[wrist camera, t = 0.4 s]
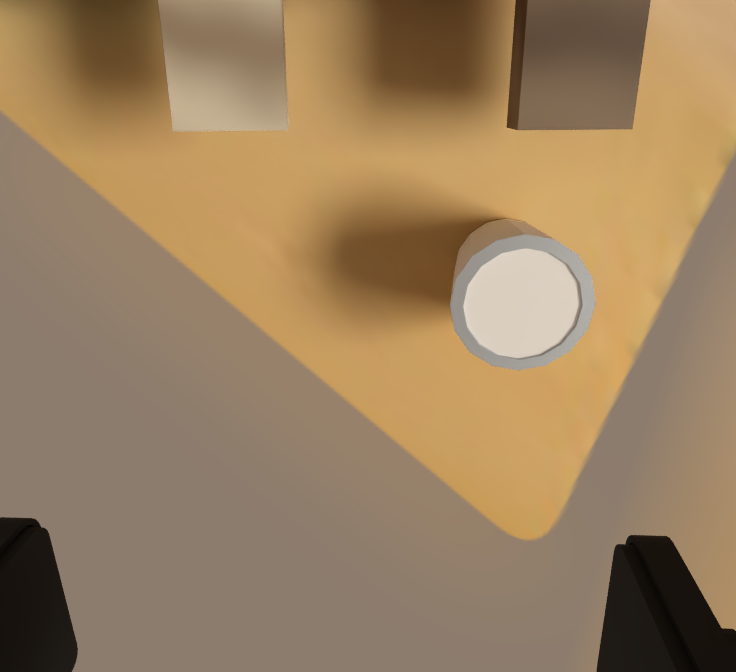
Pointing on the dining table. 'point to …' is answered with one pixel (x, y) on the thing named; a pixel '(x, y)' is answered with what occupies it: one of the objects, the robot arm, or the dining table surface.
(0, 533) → the robot arm
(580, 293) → the white cup
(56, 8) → the dining table surface
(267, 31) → the walnut lever
